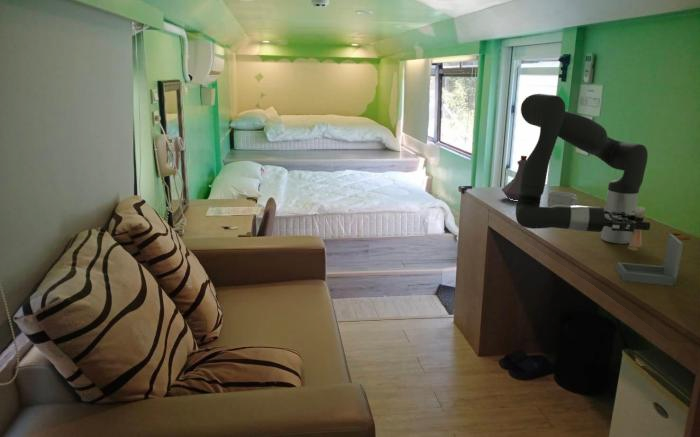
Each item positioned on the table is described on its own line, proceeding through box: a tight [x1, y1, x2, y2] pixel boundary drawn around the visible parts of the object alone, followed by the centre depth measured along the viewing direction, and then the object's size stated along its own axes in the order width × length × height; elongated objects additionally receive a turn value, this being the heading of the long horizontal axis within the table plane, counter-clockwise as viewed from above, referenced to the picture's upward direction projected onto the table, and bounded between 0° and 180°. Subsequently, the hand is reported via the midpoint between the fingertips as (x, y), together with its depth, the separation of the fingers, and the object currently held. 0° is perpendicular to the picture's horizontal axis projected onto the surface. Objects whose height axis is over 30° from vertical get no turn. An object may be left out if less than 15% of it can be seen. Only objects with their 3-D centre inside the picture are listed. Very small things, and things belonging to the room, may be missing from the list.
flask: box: [501, 155, 528, 200], centre depth 236 cm, size 16×16×20 cm
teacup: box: [547, 191, 580, 207], centre depth 216 cm, size 14×11×8 cm
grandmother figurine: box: [627, 205, 646, 251], centre depth 155 cm, size 8×4×13 cm, turn 157°
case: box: [615, 233, 684, 287], centre depth 146 cm, size 9×13×12 cm
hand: (646, 222), depth 154 cm, fingers closed on grandmother figurine, 6 cm apart
